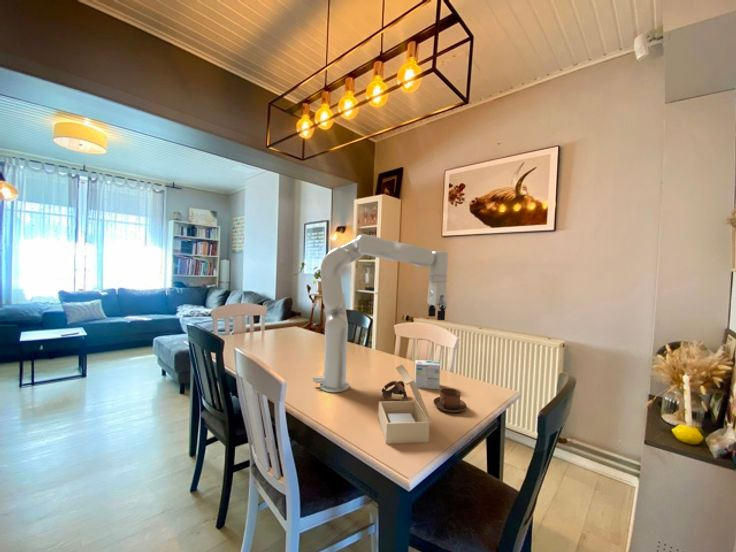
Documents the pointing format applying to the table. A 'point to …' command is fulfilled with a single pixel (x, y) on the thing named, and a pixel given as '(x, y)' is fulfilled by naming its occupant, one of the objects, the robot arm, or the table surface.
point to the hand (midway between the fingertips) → (436, 318)
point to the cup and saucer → (450, 401)
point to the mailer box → (403, 422)
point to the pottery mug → (394, 390)
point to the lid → (412, 387)
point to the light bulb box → (427, 374)
